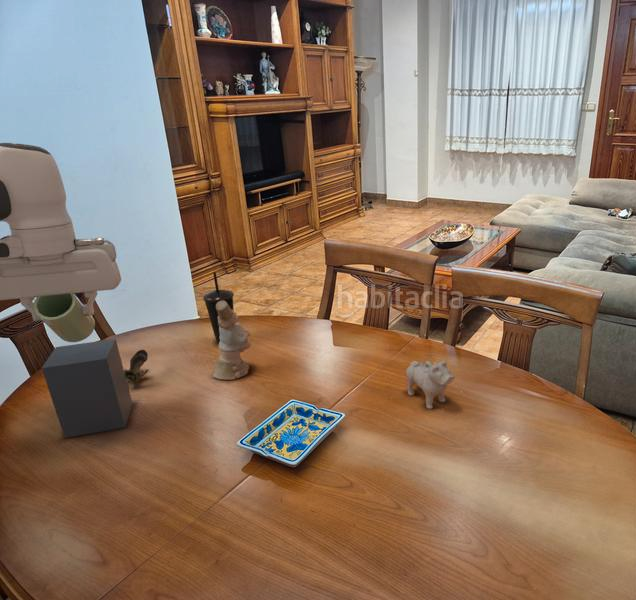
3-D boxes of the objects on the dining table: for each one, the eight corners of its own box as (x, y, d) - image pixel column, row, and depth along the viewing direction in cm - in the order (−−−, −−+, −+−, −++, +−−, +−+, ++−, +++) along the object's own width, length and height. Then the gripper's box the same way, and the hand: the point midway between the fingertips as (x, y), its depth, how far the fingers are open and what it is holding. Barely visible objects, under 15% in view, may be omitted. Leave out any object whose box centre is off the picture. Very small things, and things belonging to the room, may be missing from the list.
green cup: (56, 344, 95) (31, 321, 86) (58, 313, 98) (35, 288, 89) (94, 340, 96) (74, 317, 88) (95, 310, 99) (76, 284, 90)
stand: (64, 438, 102) (41, 368, 95) (76, 413, 110) (55, 346, 103) (125, 427, 104) (106, 358, 98) (132, 403, 112) (115, 338, 106)
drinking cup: (210, 350, 135) (197, 279, 127) (212, 337, 142) (200, 269, 134) (240, 346, 137) (229, 275, 129) (240, 333, 144) (230, 266, 136)
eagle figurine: (161, 378, 120) (156, 356, 126) (137, 362, 115) (134, 340, 122) (134, 399, 119) (131, 376, 126) (110, 384, 114) (107, 361, 121)
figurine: (231, 385, 118) (218, 306, 111) (207, 376, 122) (193, 299, 115) (260, 369, 125) (249, 293, 118) (236, 360, 129) (224, 287, 122)
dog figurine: (441, 418, 105) (442, 373, 101) (402, 391, 115) (401, 349, 110) (459, 408, 108) (461, 364, 104) (420, 383, 118) (420, 342, 113)
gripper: (116, 233, 93) (131, 305, 98) (-14, 242, 88) (7, 318, 92) (108, 240, 87) (124, 316, 92) (-33, 250, 82) (-9, 330, 87)
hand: (64, 317), depth 92 cm, fingers closed on green cup, 6 cm apart
